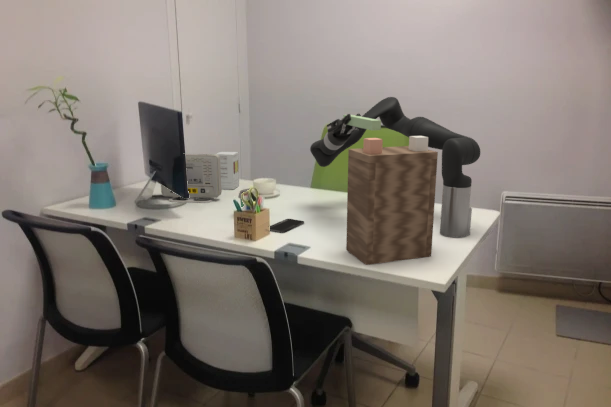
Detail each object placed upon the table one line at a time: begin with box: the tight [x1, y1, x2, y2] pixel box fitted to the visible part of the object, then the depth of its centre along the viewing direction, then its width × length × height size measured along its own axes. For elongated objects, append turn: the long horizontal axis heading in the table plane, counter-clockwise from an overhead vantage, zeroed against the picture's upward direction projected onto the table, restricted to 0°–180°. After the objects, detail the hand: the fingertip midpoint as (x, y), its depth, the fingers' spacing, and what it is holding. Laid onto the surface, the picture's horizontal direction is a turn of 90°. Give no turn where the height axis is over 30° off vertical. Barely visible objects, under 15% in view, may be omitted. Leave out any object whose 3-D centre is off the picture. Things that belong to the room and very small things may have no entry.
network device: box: [160, 153, 222, 204], centre depth 228 cm, size 26×9×20 cm, turn 84°
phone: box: [269, 218, 305, 234], centre depth 192 cm, size 8×1×15 cm
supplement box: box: [216, 151, 240, 190], centre depth 254 cm, size 10×9×17 cm
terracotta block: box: [362, 137, 384, 154], centre depth 152 cm, size 4×4×4 cm
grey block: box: [408, 136, 429, 151], centre depth 157 cm, size 4×4×4 cm
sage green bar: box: [342, 114, 382, 131], centre depth 175 cm, size 3×22×3 cm, turn 20°
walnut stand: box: [345, 145, 439, 266], centre depth 161 cm, size 22×14×32 cm, turn 110°
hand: (354, 116), depth 179 cm, fingers closed on sage green bar, 3 cm apart
